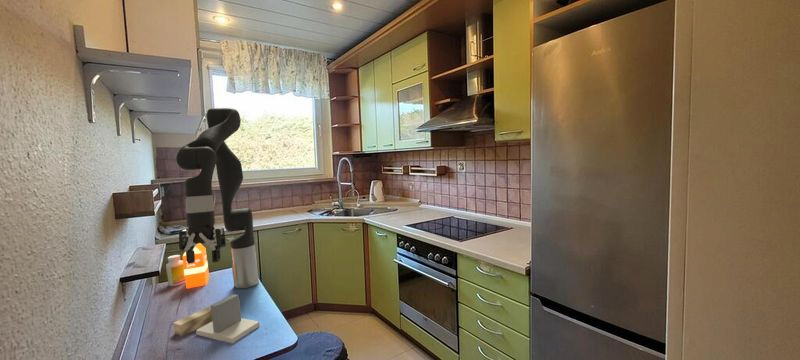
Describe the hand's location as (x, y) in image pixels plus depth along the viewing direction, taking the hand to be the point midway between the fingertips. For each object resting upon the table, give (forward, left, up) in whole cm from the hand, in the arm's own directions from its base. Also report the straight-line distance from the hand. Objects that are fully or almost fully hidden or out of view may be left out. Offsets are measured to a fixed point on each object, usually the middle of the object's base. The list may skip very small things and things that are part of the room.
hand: (203, 262), depth 102 cm
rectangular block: (-8, +5, -23) cm, 25 cm away
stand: (+5, +2, -23) cm, 23 cm away
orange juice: (-46, +27, -23) cm, 58 cm away
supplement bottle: (-56, +24, -23) cm, 65 cm away
